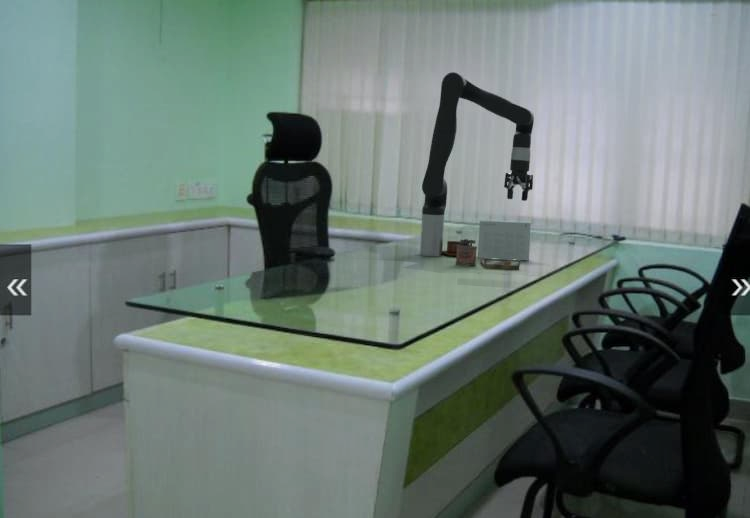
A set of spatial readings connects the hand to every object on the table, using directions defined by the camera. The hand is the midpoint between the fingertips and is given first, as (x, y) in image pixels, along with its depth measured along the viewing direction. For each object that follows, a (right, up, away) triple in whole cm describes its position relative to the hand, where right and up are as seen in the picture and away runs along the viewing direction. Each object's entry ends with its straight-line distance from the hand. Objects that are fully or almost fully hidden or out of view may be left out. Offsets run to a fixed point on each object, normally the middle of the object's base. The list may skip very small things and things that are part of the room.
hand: (517, 199), depth 330 cm
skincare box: (-4, -24, +13) cm, 28 cm away
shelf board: (-9, -27, -15) cm, 32 cm away
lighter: (-22, -26, -17) cm, 38 cm away
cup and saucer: (-23, -23, +16) cm, 36 cm away
